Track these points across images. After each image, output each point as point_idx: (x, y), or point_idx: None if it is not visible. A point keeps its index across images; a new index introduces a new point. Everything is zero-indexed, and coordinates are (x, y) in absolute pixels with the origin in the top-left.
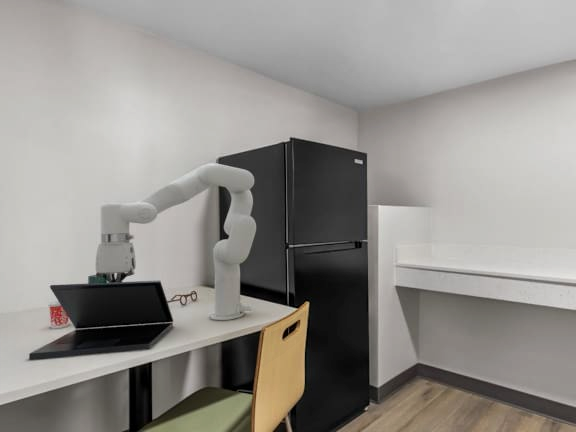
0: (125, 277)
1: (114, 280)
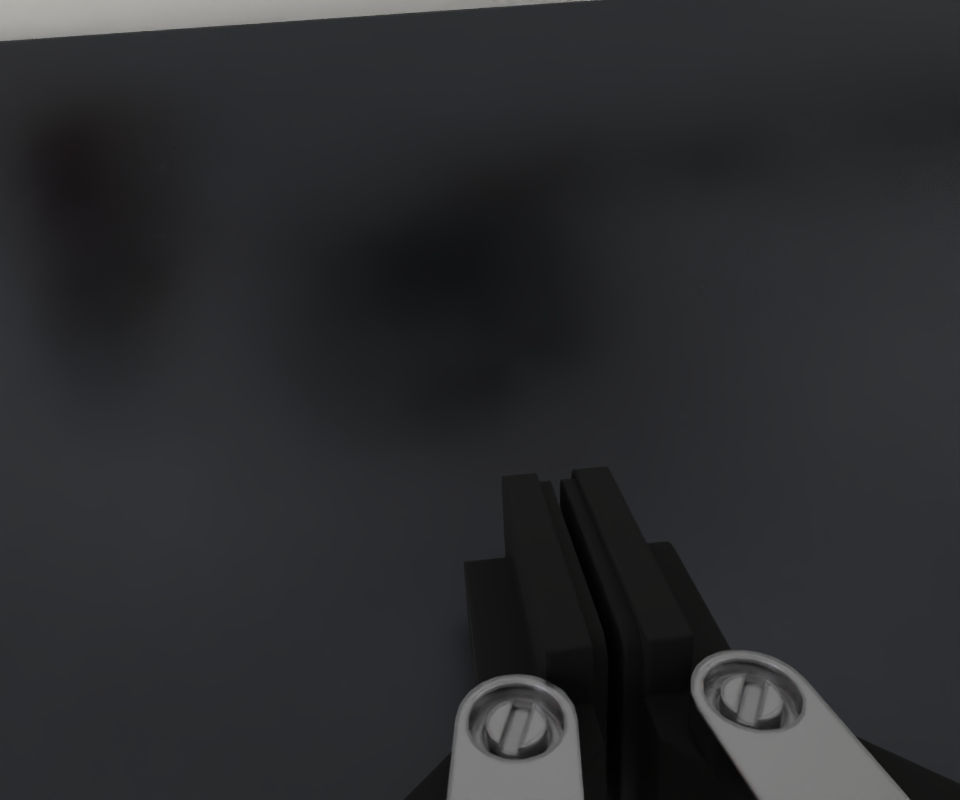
0: (909, 776)
1: (599, 795)
